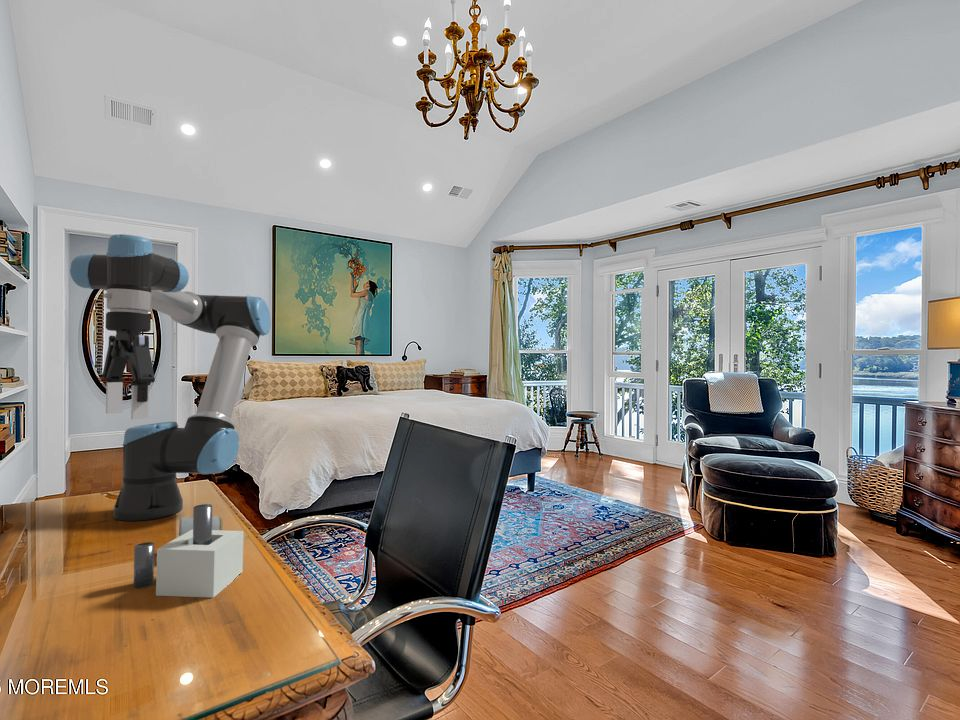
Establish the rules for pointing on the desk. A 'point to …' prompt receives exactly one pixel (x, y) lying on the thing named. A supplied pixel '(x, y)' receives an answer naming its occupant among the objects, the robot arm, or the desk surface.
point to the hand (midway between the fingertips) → (126, 415)
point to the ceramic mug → (187, 524)
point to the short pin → (143, 565)
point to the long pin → (202, 524)
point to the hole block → (199, 565)
